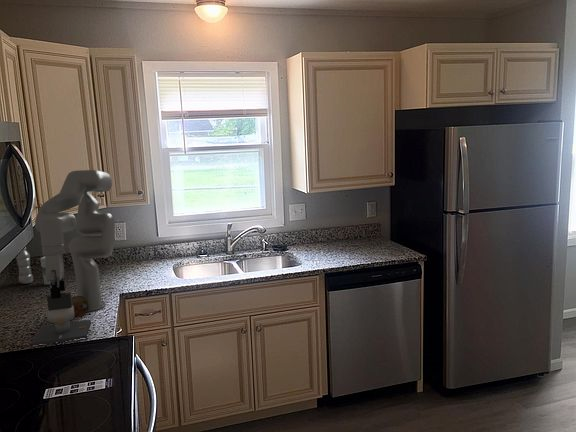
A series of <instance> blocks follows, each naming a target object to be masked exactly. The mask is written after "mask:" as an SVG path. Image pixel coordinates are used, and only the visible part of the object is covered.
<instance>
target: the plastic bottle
mask: <svg viewBox="0 0 576 432" xmlns="http://www.w3.org/2000/svg"><path fill="white" fill-rule="evenodd" d="M15 259H16V263H17V267H18V282H19V283H20V284H23V285H27V284H30V283H32V282H33V281H34V276H33V274H32V269H31V254H30V253H29V251H27V246H26V247H25V248H24V249H23V250H22V251H21V252H20V254H18V256H17V257H16V256H15Z"/></svg>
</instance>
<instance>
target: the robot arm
mask: <svg viewBox="0 0 576 432" xmlns="http://www.w3.org/2000/svg"><path fill="white" fill-rule="evenodd" d="M112 179H113V178H112V177H111V175H110V174H109V173H108V172H105V171H103V170H98V169H82V170H81V169H80V170H78V169H77V170H72V171H70V172H68V174H66V177H65V180H64V182H63V184H62V186H61V189H60V191H59V193H57V194H55V195H54V196H52V197H51V198H49V199H48V200H46V201H45V202H44V203H43V204H42V205H41V206H40V208H39V210H38V212H37V214H36V217H35V219H34V226H35V229H36V231H37V232H39V233H40V241H41V242H40V243H41V250H42V251H41V252H42V256H45V266H46V281H47V282H49V281H50V285H49V287H50V289H49V290H50V294H51V298H52V299H56V298H61V293H62V292H64V291H65V290H66V287H65V280H64V276H65V265H64V258H63V254H65V253H66V248H65V247H66V246H65V235H64V234H65V233H70V232H73V231H74V230H75V228H76V232H77V233H78V234H80V235H83V236H78V237H75V238H72V239H71V241H70V242H69V252H70V256H71V259H72V262H73V269H74V276H75V277H74V278H75V279H74V280H75V285H76V287H75V288H76V296H82V297H84V298H86V299H87V301H88V303H89V307H88V311H87V312H89V313H90V312H95V311H98V310H101V309H103V308H104V307H106V306H107V305H106V301H104V300H102V296H101V295H102V293H101V283H100V274H99V273H100V272H99V266H98V263H96V261H95V260H94V259H105V258H110V257H111V256H112V254H113V251H114V244H115V243H114V242H115V232H116V222H115V218H114V216H113V215H112V214H111V213H110V212H99V210H100V209H99V208H100V203H99V202H98V200H97V199H96V198H95V196H93V194H91V193H106V192H109V191H110V190H111V189H112V187H113V180H112ZM75 207H78V208H77V215H76V216H75V215H74V213H73V214H72V213H71V212H64V211H67V210H71V209H72V208H75ZM87 312H86V313H87Z"/></svg>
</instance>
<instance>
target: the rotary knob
mask: <svg viewBox="0 0 576 432" xmlns="http://www.w3.org/2000/svg"><path fill="white" fill-rule="evenodd" d="M72 297H73V296H72V292H71V291H68V292H61V298H56V299H52V298H51V293H50V294H47V295H46V301H47V310H46V311H47V318H48V323H51V324H55V323H61V322H66V321H69V322H70V321H71V320H74V319H75V318H76V317H75V314H74V306H73V305H72Z"/></svg>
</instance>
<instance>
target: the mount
mask: <svg viewBox="0 0 576 432" xmlns="http://www.w3.org/2000/svg"><path fill="white" fill-rule="evenodd" d="M90 324H91V325H92V319H86V320H85V319H84V320H76V321H70V320H69V321H66V322H61V323H51V324H46V325H41V326H40V328H39V329H38V331H37V333H36V336H35V337H34V339H33V340H32V346H33V345H39V344H49V345H51V344H50V343H56V342H64V341H69V340H74V339H80V338H87V339H88V336H87V334H88V335H89V333H88V331H89V332H90V329H89V328H91V325H90ZM64 343H65V342H64Z"/></svg>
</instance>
